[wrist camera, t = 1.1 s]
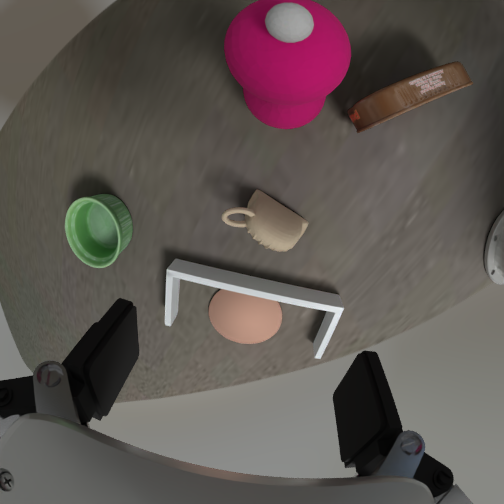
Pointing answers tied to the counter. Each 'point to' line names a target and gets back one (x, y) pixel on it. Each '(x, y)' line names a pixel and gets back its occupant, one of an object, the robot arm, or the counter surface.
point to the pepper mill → (287, 59)
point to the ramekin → (98, 229)
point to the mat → (244, 316)
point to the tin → (408, 95)
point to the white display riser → (254, 294)
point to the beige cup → (269, 222)
